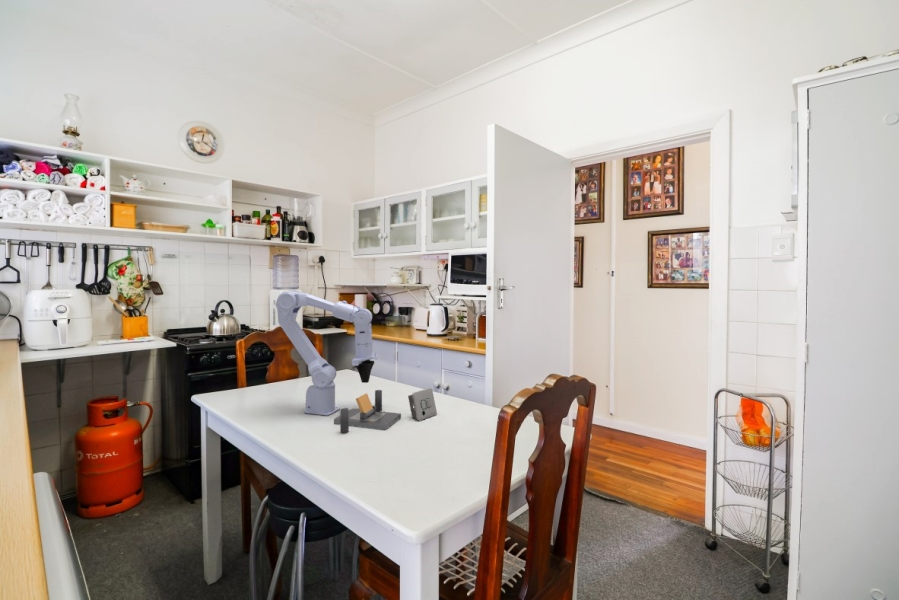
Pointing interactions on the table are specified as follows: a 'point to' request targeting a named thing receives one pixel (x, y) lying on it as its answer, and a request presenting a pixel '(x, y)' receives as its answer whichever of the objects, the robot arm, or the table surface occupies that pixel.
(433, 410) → the electrical switch
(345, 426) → the post
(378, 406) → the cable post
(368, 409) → the breaker paddle
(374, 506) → the table surface
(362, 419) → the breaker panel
